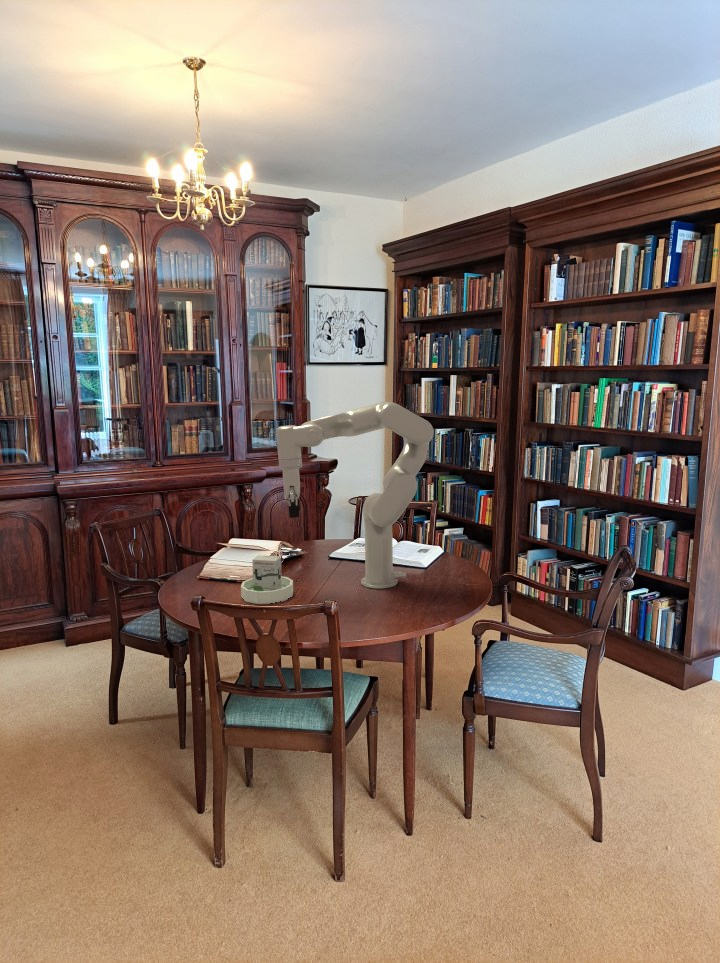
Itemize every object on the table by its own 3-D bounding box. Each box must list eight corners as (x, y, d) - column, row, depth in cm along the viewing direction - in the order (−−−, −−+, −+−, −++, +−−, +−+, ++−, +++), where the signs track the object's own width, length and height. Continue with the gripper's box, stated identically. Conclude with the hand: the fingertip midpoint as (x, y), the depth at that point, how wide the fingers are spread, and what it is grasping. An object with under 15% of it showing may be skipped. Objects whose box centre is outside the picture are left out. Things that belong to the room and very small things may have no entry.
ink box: (252, 593, 213) (251, 559, 211) (258, 588, 218) (256, 554, 216) (277, 595, 211) (276, 560, 209) (282, 590, 216) (281, 555, 214)
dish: (294, 585, 223) (293, 574, 223) (291, 602, 207) (291, 590, 206) (245, 587, 222) (244, 576, 222) (238, 604, 206) (238, 592, 205)
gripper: (280, 460, 220) (285, 509, 223) (277, 468, 202) (282, 521, 206) (302, 458, 220) (306, 507, 223) (301, 466, 203) (305, 519, 206)
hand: (295, 514), depth 214 cm, fingers open, 9 cm apart
